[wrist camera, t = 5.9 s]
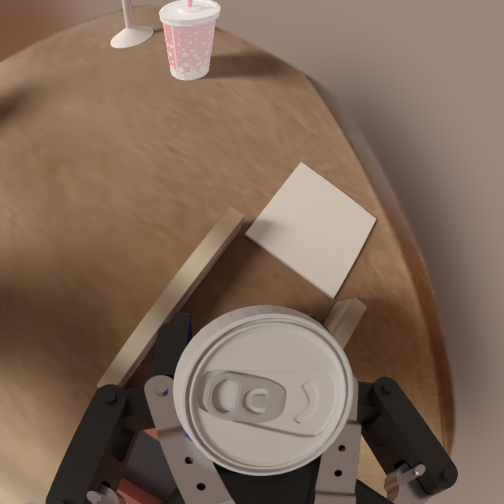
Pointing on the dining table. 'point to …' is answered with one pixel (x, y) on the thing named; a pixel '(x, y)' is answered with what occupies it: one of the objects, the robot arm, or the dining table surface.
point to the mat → (313, 229)
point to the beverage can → (263, 390)
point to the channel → (185, 283)
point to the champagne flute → (130, 30)
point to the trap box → (146, 471)
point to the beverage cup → (189, 36)
